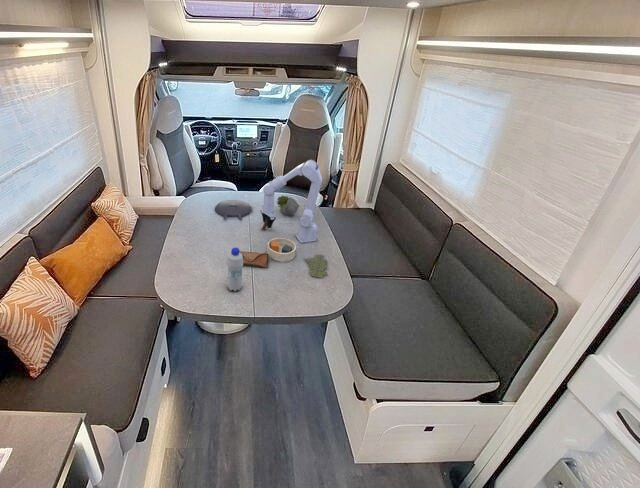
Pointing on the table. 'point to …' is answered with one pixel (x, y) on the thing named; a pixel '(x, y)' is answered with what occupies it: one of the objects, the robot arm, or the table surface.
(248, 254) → the sunglasses case
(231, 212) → the toy spaceship
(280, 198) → the potted plant
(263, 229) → the stick
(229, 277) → the bottle
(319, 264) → the map
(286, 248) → the slate block
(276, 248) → the orange block
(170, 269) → the table surface
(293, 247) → the bowl
